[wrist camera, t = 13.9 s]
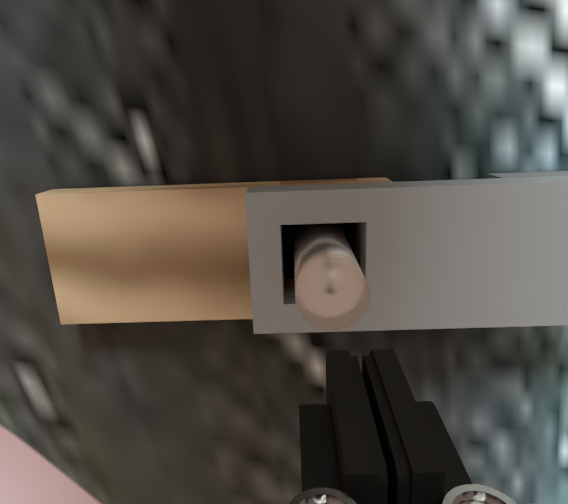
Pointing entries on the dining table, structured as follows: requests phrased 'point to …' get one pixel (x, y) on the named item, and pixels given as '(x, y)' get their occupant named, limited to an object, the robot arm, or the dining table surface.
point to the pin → (328, 278)
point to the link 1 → (154, 251)
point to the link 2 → (426, 250)
